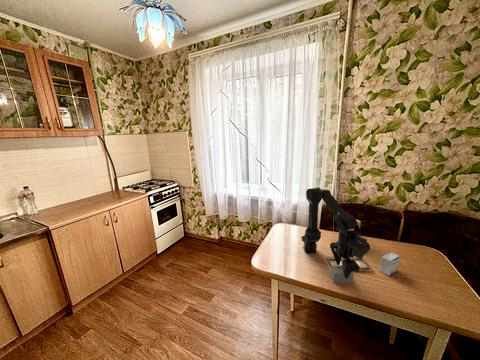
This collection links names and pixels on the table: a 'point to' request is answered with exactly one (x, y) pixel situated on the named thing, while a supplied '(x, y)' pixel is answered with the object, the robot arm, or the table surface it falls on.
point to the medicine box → (389, 263)
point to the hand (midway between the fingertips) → (341, 271)
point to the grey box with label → (340, 276)
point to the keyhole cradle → (361, 262)
